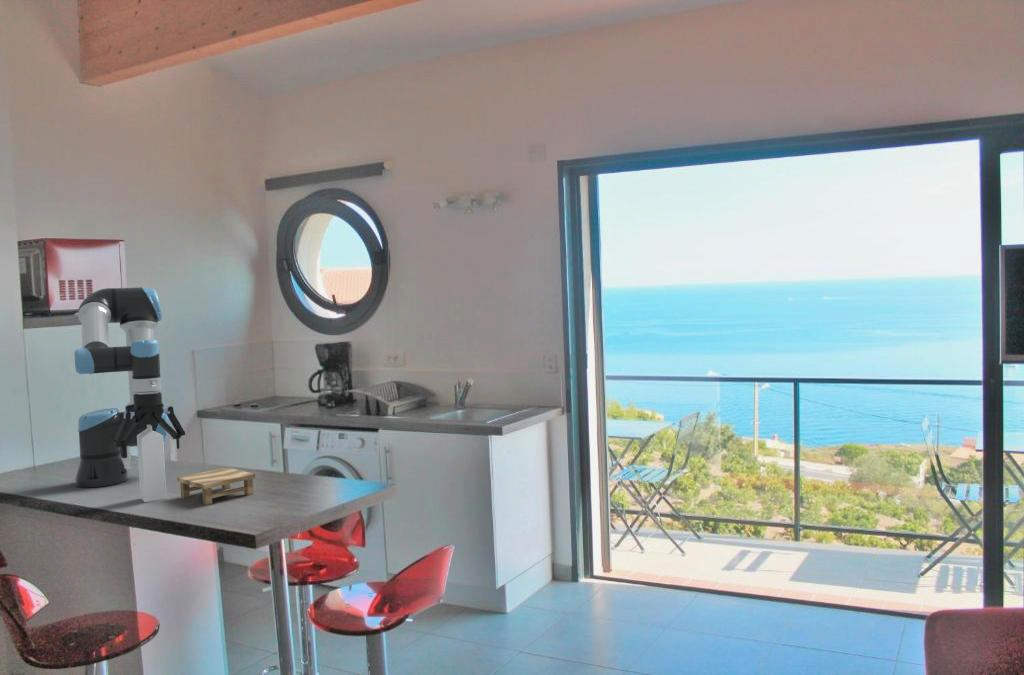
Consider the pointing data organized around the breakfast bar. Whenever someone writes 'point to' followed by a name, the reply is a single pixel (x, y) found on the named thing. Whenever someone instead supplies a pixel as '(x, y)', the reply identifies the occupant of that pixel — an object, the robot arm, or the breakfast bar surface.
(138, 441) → the milk
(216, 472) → the light brown square platform
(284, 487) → the breakfast bar surface
